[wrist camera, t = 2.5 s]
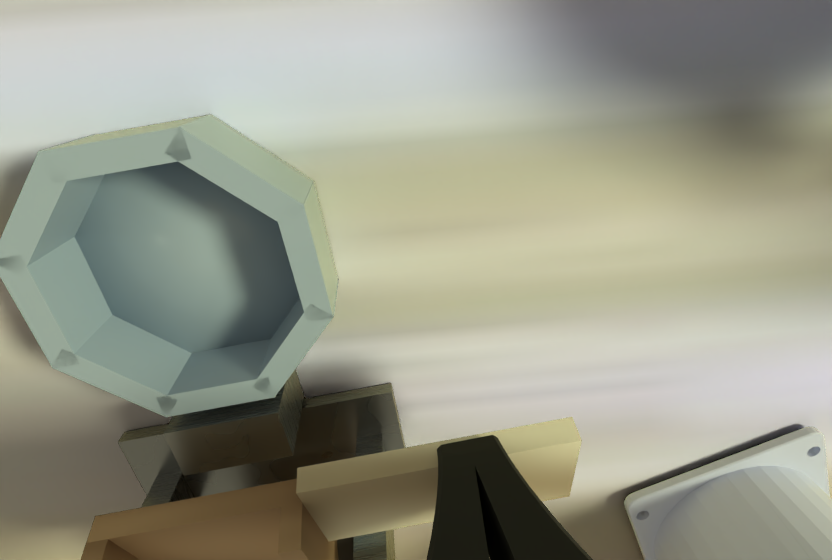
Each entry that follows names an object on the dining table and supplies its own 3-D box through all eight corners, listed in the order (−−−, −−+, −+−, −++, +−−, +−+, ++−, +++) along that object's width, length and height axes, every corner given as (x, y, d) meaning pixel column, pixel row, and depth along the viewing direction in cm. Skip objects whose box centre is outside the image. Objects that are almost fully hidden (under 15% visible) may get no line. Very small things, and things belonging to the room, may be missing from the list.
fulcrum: (414, 487, 19) (429, 629, 14) (177, 531, 19) (114, 690, 14) (382, 341, 16) (388, 460, 11) (103, 392, 16) (-7, 533, 11)
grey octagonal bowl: (353, 338, 16) (351, 383, 14) (126, 380, 16) (88, 432, 14) (294, 99, 13) (278, 108, 11) (10, 148, 13) (-64, 168, 11)
